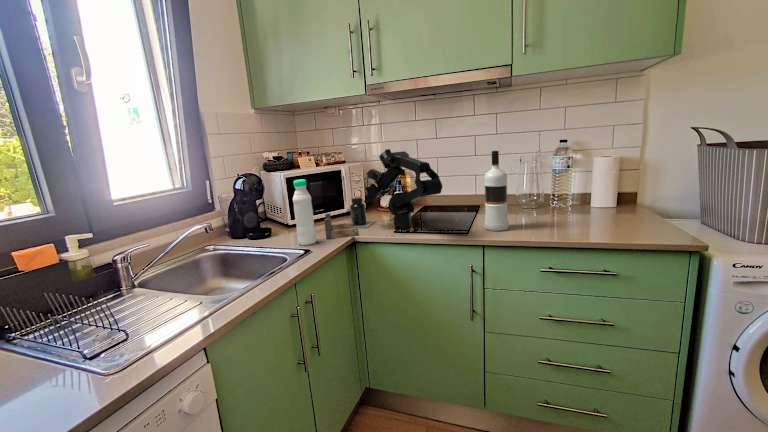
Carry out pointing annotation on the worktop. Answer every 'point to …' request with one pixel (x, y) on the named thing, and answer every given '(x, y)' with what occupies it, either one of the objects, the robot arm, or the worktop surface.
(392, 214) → the robot arm
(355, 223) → the supplement bottle
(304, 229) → the milk bottle
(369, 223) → the slate mat
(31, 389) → the worktop surface
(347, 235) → the bracket holder
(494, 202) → the vodka
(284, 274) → the worktop surface
